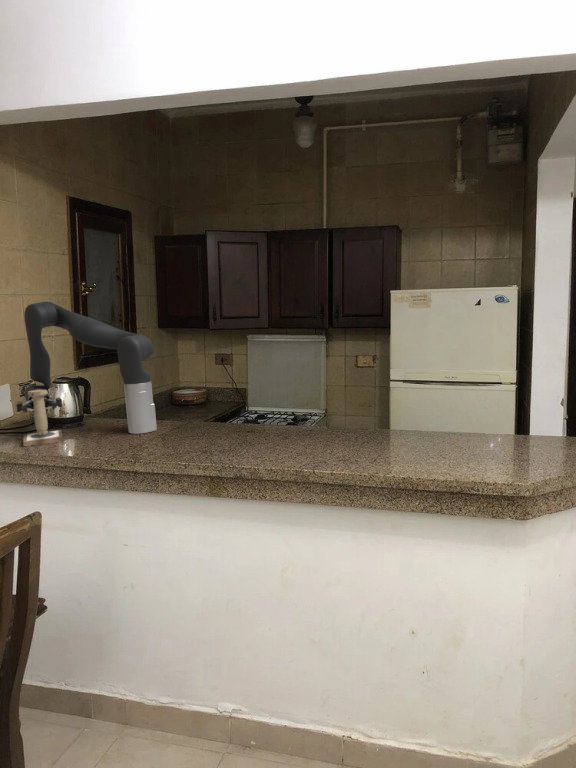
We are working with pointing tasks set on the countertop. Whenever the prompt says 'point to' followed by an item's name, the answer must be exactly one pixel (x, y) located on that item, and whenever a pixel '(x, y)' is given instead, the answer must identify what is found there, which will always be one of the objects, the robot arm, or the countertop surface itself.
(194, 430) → the countertop surface
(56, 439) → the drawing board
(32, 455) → the countertop surface
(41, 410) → the handle
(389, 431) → the countertop surface
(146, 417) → the robot arm
